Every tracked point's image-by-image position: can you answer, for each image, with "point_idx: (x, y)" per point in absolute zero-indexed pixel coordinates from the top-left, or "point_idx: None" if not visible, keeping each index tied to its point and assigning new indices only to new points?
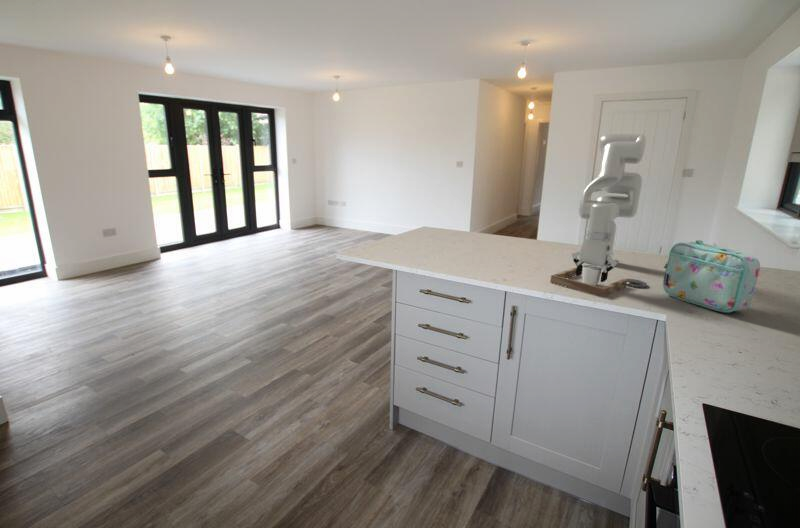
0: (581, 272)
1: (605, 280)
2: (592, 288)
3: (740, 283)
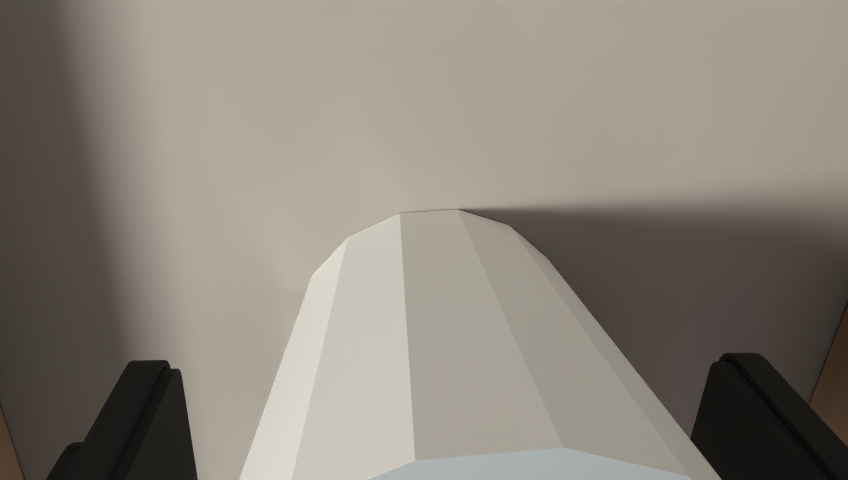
0: (162, 426)
1: (753, 360)
2: None
3: None
